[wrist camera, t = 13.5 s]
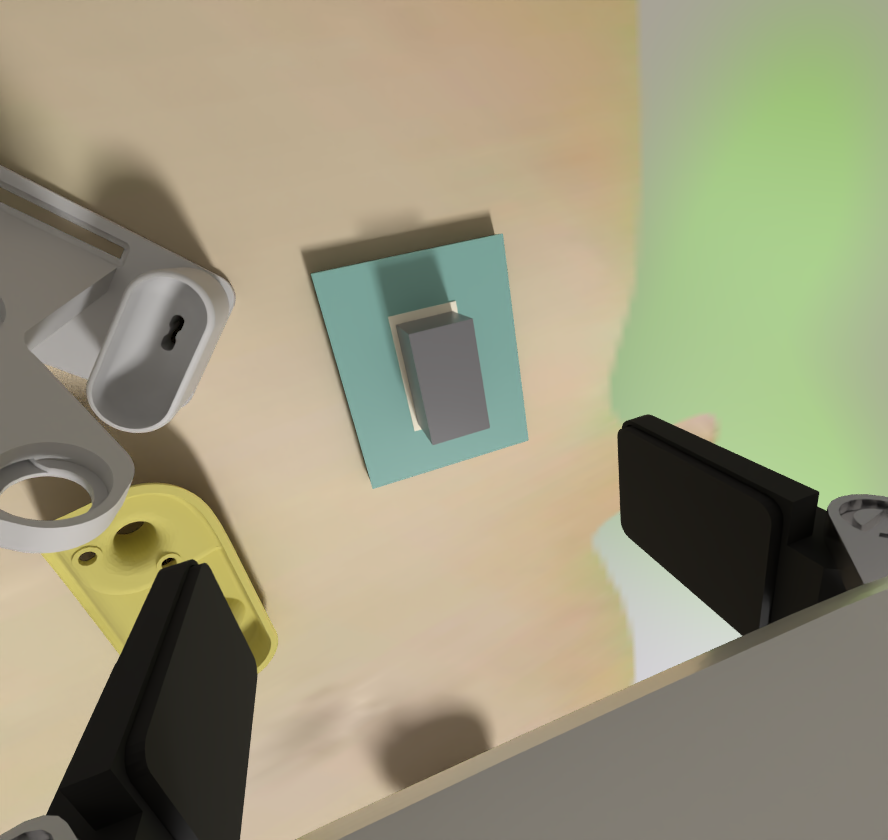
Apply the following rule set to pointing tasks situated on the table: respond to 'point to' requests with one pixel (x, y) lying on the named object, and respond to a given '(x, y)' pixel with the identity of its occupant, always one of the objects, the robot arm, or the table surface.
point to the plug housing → (444, 375)
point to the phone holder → (91, 354)
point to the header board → (380, 357)
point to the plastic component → (159, 564)
